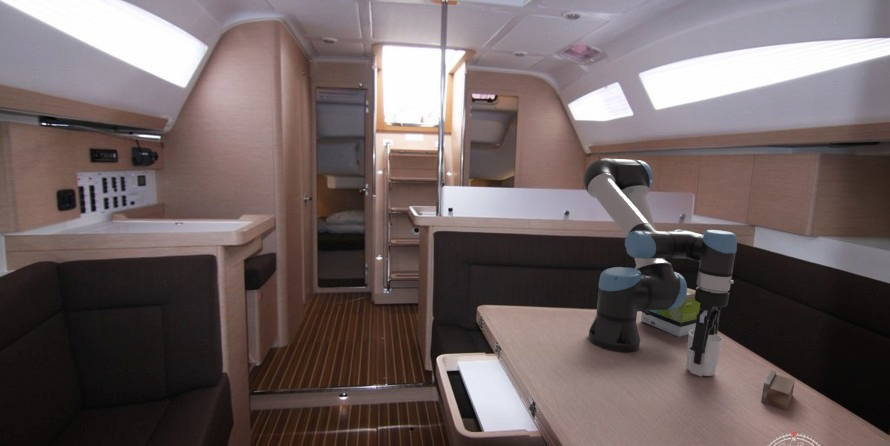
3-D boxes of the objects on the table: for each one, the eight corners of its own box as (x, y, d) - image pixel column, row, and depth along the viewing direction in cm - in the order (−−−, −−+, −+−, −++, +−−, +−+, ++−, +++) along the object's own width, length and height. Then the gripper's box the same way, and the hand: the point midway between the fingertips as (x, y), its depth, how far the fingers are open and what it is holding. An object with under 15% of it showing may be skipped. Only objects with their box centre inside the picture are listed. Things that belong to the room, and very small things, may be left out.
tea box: (639, 321, 152) (643, 282, 149) (657, 318, 156) (661, 279, 154) (679, 337, 138) (684, 294, 136) (697, 333, 143) (703, 291, 141)
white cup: (722, 379, 110) (728, 343, 109) (689, 375, 112) (694, 339, 110) (710, 365, 118) (715, 331, 116) (679, 361, 120) (684, 328, 118)
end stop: (761, 401, 101) (764, 382, 100) (768, 387, 108) (771, 369, 107) (786, 410, 98) (789, 391, 97) (792, 395, 105) (795, 377, 104)
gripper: (718, 300, 102) (705, 388, 105) (738, 285, 116) (726, 362, 119) (684, 292, 107) (673, 376, 110) (707, 278, 121) (696, 353, 125)
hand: (700, 369), depth 115 cm, fingers closed on white cup, 7 cm apart
